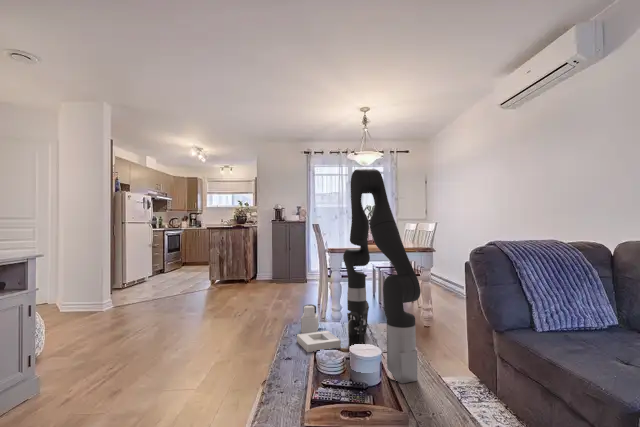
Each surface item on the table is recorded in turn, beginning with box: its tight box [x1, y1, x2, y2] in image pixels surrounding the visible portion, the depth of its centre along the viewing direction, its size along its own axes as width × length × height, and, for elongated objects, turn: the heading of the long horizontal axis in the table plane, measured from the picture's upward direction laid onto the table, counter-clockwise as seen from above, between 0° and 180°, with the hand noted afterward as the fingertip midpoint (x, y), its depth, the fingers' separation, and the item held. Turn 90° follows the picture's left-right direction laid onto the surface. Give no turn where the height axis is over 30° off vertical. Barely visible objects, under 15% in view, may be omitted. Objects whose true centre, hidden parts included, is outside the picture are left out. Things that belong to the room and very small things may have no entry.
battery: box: [347, 319, 366, 348], centre depth 149 cm, size 7×4×11 cm, turn 104°
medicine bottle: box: [300, 304, 320, 334], centre depth 172 cm, size 7×7×12 cm
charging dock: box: [296, 330, 341, 353], centre depth 154 cm, size 14×14×3 cm
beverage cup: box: [363, 300, 370, 335], centre depth 170 cm, size 7×7×20 cm
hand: (357, 341), depth 149 cm, fingers closed on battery, 4 cm apart
